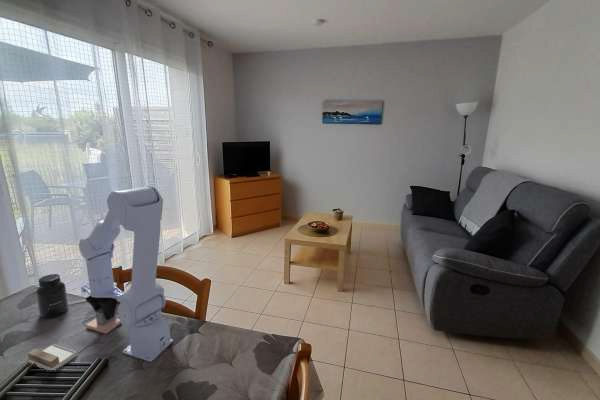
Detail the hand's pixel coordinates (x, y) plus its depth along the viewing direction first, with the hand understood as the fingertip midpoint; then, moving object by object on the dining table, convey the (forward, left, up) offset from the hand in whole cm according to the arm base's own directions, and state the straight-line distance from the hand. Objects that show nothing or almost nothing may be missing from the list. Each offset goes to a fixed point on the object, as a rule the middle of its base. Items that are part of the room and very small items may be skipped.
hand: (106, 316), depth 82 cm
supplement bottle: (+20, +1, -3) cm, 20 cm away
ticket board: (0, +14, -2) cm, 15 cm away
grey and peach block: (0, +1, -2) cm, 2 cm away
